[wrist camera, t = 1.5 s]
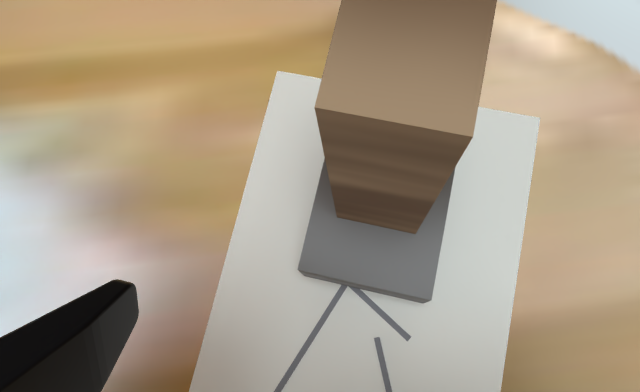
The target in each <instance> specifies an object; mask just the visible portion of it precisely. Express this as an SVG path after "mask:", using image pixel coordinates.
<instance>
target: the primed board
mask: <svg viewBox="0 0 640 392" xmlns="http://www.w3.org/2000/svg"><path fill="white" fill-rule="evenodd" d="M321 80H322V79H320V78H315V77H309V76H304V75H298V74H293V73H287V72H281V71H277V74H276V78H275V81H274V85H273V89H272V92H271V96H270V100H269V103H268V107H267V110H266V114H265V118H264V121H263V125H262V129H261V132H260V136H259V139H258V143H257V147H256V150H255V154H254V157H253V161H252V165H251V168H250V172H249V176H248V179H247V183H246V186H245V190H244V194H243V197H242V201H241V205H240V208H239V212H238V215H237V219H236V223H235V226H234V230H233V234H232V237H231V241H230V244H229V248H228V252H227V255H226V259H225V263H224V266H223V270H222V273H221V277H220V281H219V284H218V288H217V292H216V295H215V299H214V302H213V306H212V310H211V313H210V317H209V321H208V324H207V328H206V331H205V335H204V339H203V342H202V346H201V350H200V353H199V357H198V360H197V364H196V368H195V371H194V375H193V379H192V382H191V386H190V389H189V392H500V391H501V384H502V377H503V370H504V363H505V356H506V349H507V343H508V336H509V329H510V322H511V315H512V308H513V301H514V294H515V288H516V281H517V274H518V267H519V260H520V253H521V246H522V239H523V232H524V226H525V219H526V212H527V205H528V198H529V191H530V184H531V177H532V170H533V164H534V157H535V150H536V143H537V136H538V129H539V122H540V118H538V117H532V116H527V115H521V114H516V113H510V112H504V111H499V110H493V109H488V108H482V107H478V111H477V117H476V123H475V129H474V134H473V138H472V140H471V141H470V143H469V145H468V146H467V148H466V150H465V151H464V153H463V155H462V156H461V158H460V160H459V161H458V163H457V165H456V167H455V173H454V178H453V184H452V189H451V195H450V200H449V206H448V211H447V217H446V222H445V228H444V234H443V239H442V245H441V250H440V256H439V261H438V267H437V272H436V278H435V284H434V289H433V295H432V300H431V301H429V302H426V303H418V302H414V301H410V300H405V299H401V298H397V297H392V296H388V295H384V294H379V293H375V292H371V291H367V290H362V289H358V288H354V287H349V286H345V285H341V284H336V283H332V282H328V281H323V280H319V279H315V278H310V277H306V276H304V275H303V274H302V273H301V272H300V271H298V270H297V269H298V265H299V261H300V257H301V253H302V249H303V245H304V240H305V236H306V232H307V228H308V224H309V220H310V216H311V212H312V208H313V204H314V199H315V195H316V191H317V187H318V183H319V179H320V175H321V171H322V167H323V163H324V158H325V156H324V152H323V147H322V142H321V137H320V132H319V127H318V122H317V117H316V112H315V108H314V107H315V103H316V99H317V95H318V91H319V87H320V83H321Z"/></svg>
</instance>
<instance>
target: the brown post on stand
mask: <svg viewBox="0 0 640 392" xmlns="http://www.w3.org/2000/svg"><path fill="white" fill-rule="evenodd" d="M496 2H497V0H342V1H341V5H340V9H339V13H338V17H337V21H336V25H335V29H334V32H333V36H332V40H331V44H330V48H329V52H328V56H327V60H326V64H325V68H324V72H323V76H322V80H321V83H320V87H319V91H318V95H317V99H316V103H315V107H314V108H315V112H316V117H317V122H318V127H319V132H320V137H321V142H322V147H323V152H324V156H325V158H324V163H323V167H322V171H321V175H320V179H319V183H318V187H317V191H316V195H315V199H314V204H313V208H312V212H311V216H310V220H309V224H308V228H307V232H306V236H305V240H304V245H303V249H302V253H301V257H300V261H299V265H298V269H297V270H298V271H300V272H301V273H302V274H303V275H304V276H306V277H310V278H315V279H319V280H323V281H328V282H332V283H336V284H341V285H345V286H349V287H354V288H358V289H362V290H367V291H371V292H375V293H379V294H384V295H388V296H392V297H397V298H401V299H405V300H410V301H414V302H418V303H426V302H429V301H431V300H432V295H433V289H434V284H435V278H436V272H437V267H438V261H439V256H440V250H441V245H442V239H443V234H444V228H445V222H446V217H447V211H448V206H449V200H450V195H451V189H452V184H453V178H454V173H455V167H456V165H457V163H458V161H459V160H460V158H461V156H462V155H463V153H464V151H465V150H466V148H467V146H468V145H469V143H470V141H471V140H472V138H473V134H474V129H475V123H476V117H477V111H478V106H479V100H480V94H481V88H482V83H483V77H484V71H485V66H486V60H487V54H488V48H489V43H490V37H491V31H492V25H493V20H494V14H495V8H496Z"/></svg>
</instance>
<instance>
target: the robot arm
mask: <svg viewBox="0 0 640 392" xmlns="http://www.w3.org/2000/svg"><path fill="white" fill-rule="evenodd" d="M138 314H139V309H138V301H137V292H136V287H135V285H134V284H133V283H131V282H127V281H122V280H112V281H110V282H108V283H106V284H104V285H102V286H100V287H98V288H96V289H95V290H93V291H91V292H89V293H87V294H85V295H83V296H81V297H79V298H77V299H75V300H73V301H71V302H69V303H67V304H65V305H63V306H61V307H59V308H57V309H55V310H53V311H51V312H49V313H47V314H46V315H44V316H42V317H40V318H38V319H36V320H34V321H32V322H30V323H28V324H26V325H24V326H22V327H20V328H18V329H16V330H14V331H12V332H10V333H8V334H6V335H4V336H2V337H0V392H101V390H102V389H103V387H104V385H105V383H106V381H107V379H108V378H109V376H110V374H111V372H112V370H113V368H114V366H115V364H116V362H117V360H118V358H119V356H120V354H121V352H122V350H123V348H124V346H125V344H126V342H127V340H128V338H129V336H130V334H131V332H132V330H133V328H134V326H135V324H136V322H137V319H138Z"/></svg>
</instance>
